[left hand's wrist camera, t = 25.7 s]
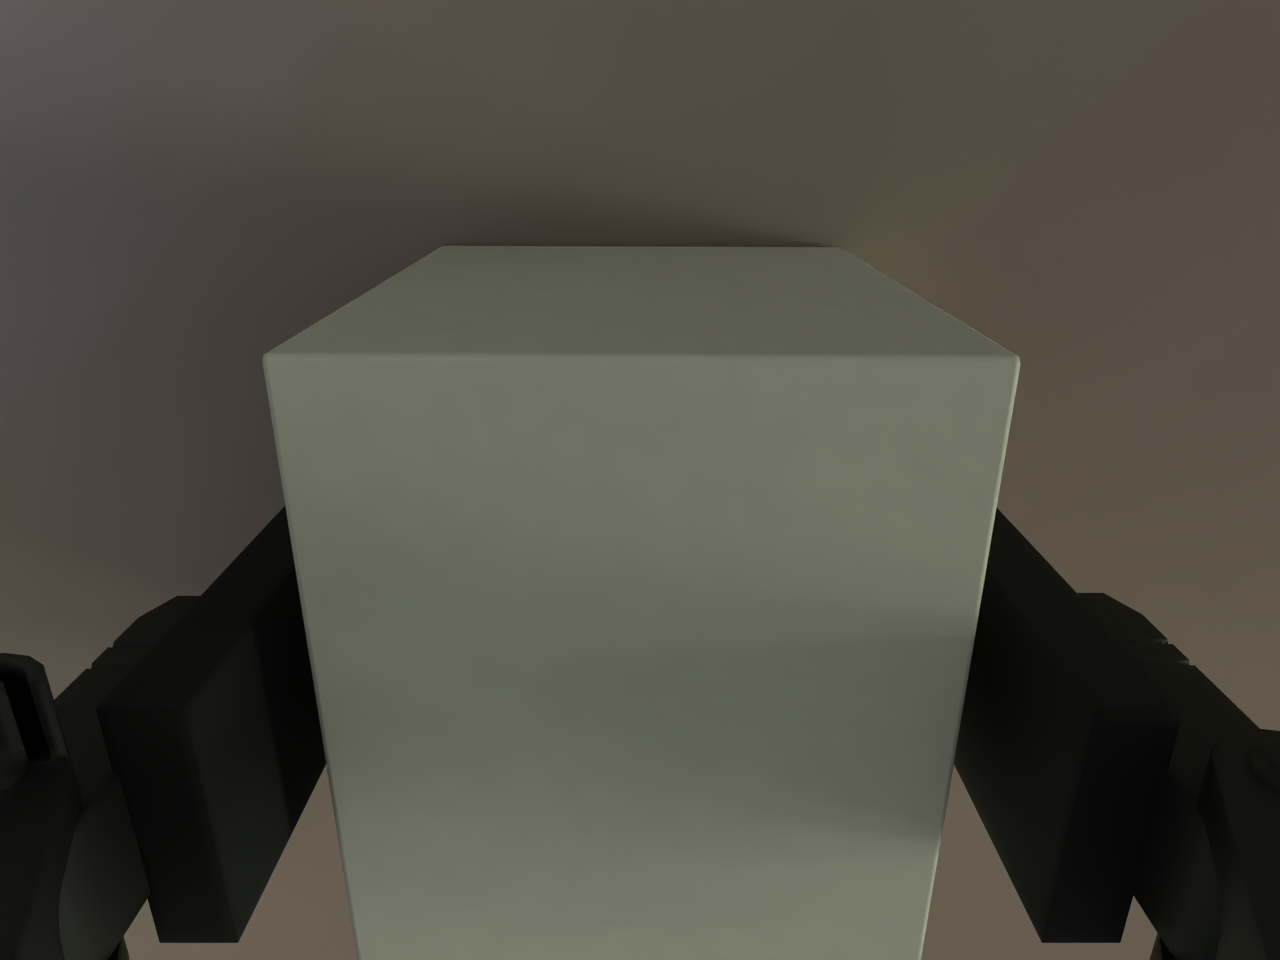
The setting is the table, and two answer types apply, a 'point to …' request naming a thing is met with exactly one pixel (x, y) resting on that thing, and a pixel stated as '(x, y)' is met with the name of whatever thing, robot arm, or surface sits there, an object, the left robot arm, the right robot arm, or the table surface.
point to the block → (640, 597)
